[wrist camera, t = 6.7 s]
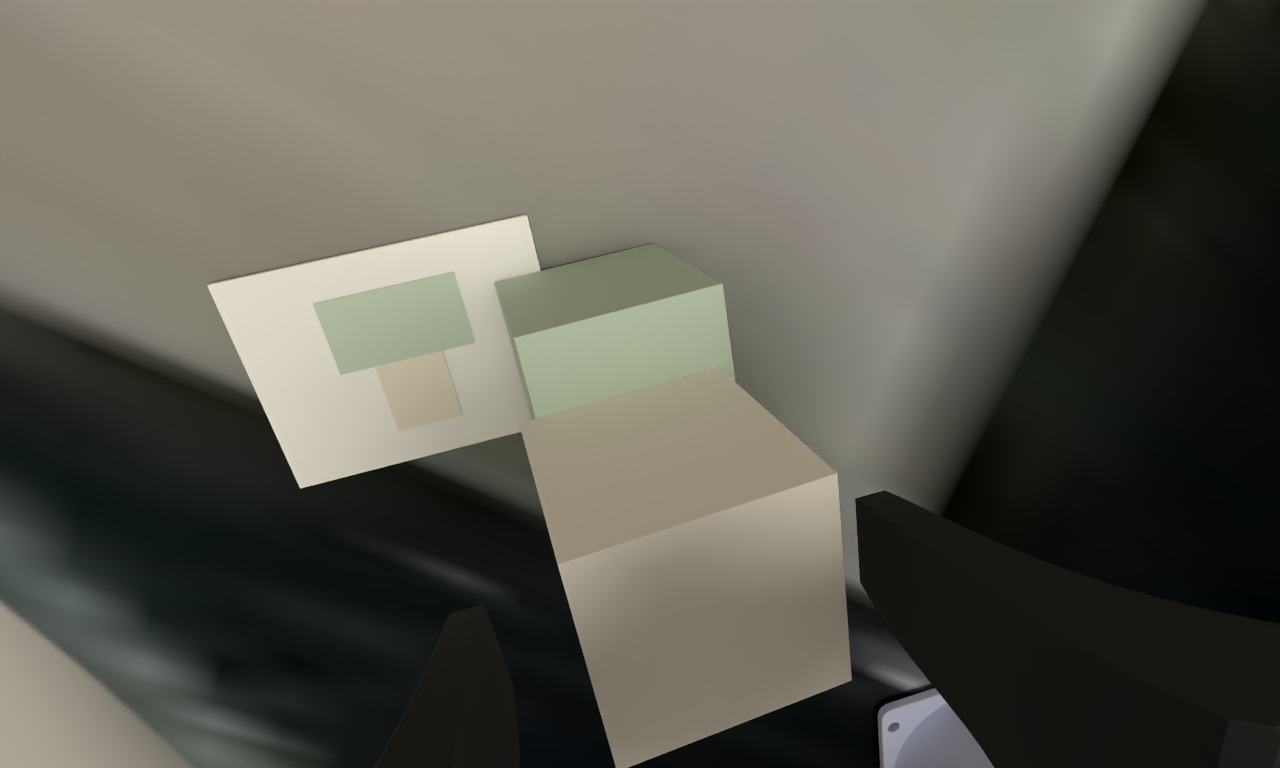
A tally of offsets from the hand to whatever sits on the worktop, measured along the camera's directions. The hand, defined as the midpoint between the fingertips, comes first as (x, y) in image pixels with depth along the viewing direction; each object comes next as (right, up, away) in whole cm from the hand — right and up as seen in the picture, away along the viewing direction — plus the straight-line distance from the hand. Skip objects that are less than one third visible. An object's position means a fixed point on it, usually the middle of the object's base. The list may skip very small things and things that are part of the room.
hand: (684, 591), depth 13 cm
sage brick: (-2, +3, +8) cm, 8 cm away
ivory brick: (-1, +2, +3) cm, 3 cm away
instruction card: (-7, +5, +6) cm, 10 cm away
